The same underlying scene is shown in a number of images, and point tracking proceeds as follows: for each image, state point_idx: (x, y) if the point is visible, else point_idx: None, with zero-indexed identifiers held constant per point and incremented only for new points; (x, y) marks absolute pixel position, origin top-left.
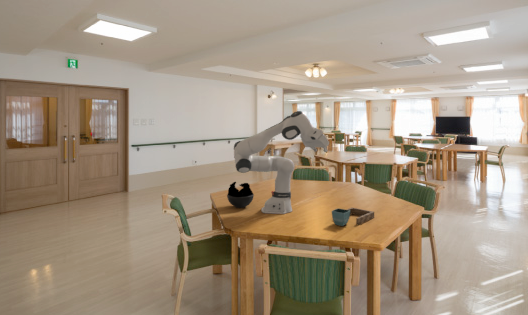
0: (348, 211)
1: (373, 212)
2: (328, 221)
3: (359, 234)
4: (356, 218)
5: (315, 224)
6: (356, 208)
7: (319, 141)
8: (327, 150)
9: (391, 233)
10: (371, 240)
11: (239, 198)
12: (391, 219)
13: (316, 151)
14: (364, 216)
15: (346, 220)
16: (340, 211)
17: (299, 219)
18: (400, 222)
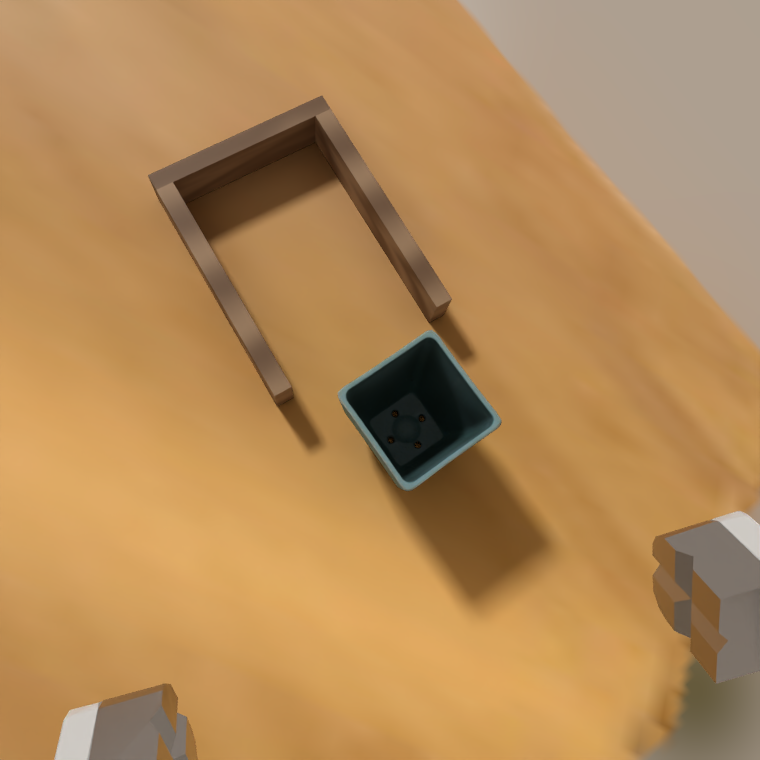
0: (455, 360)
1: (328, 108)
2: (304, 480)
3: (623, 415)
4: (437, 307)
5: (346, 617)
6: (189, 159)
7: None
8: (745, 527)
9: (642, 221)
10: (733, 405)
11: None
12: (391, 48)
13: (192, 735)
14: (403, 224)
15: (449, 397)
16: (360, 387)
17: None
18: (463, 40)
